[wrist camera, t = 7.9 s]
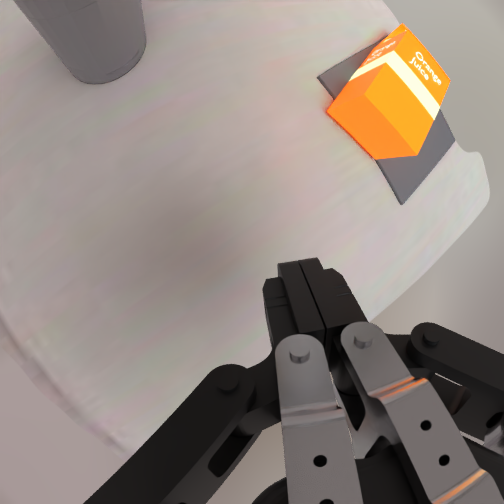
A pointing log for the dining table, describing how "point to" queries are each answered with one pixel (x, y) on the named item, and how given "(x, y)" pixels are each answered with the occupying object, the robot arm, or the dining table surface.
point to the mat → (398, 168)
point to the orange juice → (392, 97)
